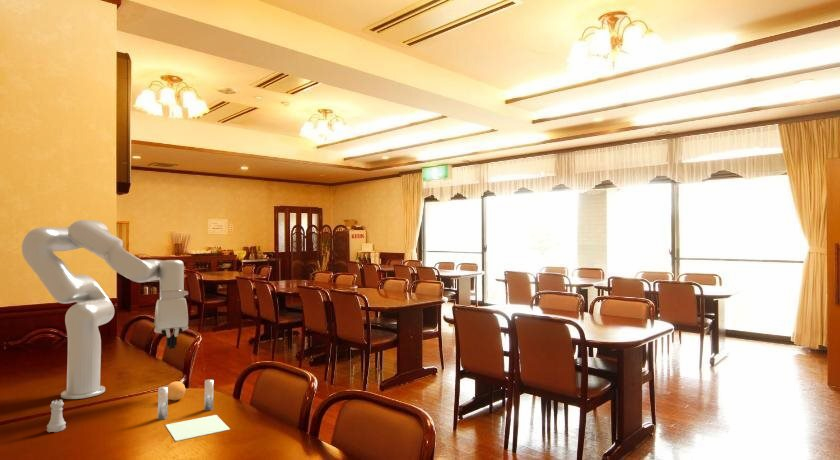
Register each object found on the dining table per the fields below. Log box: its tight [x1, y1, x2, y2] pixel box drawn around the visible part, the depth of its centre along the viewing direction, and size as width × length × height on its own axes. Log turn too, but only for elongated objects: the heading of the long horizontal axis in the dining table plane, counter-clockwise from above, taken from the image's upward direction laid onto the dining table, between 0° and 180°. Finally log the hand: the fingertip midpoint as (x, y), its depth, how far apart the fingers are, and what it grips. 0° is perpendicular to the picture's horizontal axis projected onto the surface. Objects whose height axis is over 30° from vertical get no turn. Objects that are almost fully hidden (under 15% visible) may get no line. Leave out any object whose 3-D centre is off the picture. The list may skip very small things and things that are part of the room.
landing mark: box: [164, 414, 231, 442], centre depth 140 cm, size 14×14×1 cm
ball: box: [166, 381, 186, 401], centre depth 164 cm, size 6×6×6 cm
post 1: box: [157, 386, 169, 420], centre depth 148 cm, size 3×3×9 cm
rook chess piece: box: [46, 399, 67, 433], centre depth 138 cm, size 4×4×8 cm
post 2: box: [203, 378, 215, 412], centre depth 156 cm, size 3×3×9 cm
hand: (171, 348), depth 172 cm, fingers closed
